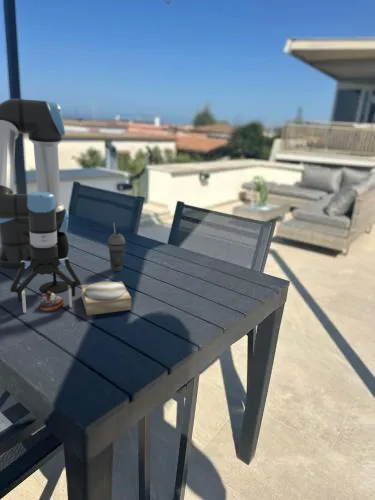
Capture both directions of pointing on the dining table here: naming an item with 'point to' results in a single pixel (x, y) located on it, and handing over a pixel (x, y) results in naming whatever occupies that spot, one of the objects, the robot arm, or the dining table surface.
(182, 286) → the dining table surface
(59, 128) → the robot arm
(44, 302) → the pastry
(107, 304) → the plinth
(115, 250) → the beverage cup
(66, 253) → the wine glass
